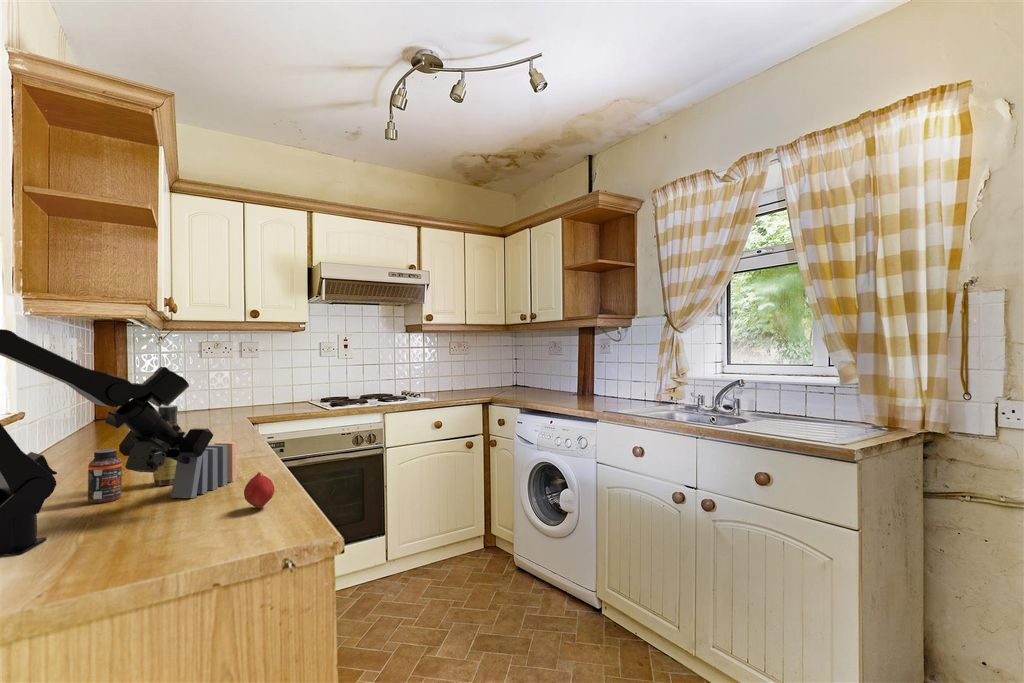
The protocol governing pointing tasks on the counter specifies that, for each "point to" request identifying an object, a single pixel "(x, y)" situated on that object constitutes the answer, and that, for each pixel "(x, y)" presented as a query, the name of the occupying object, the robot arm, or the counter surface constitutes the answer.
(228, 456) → the domino
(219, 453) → the domino
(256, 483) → the onion
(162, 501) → the counter surface
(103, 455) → the supplement bottle
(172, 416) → the sauce bottle
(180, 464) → the domino
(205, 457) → the domino
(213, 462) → the domino
